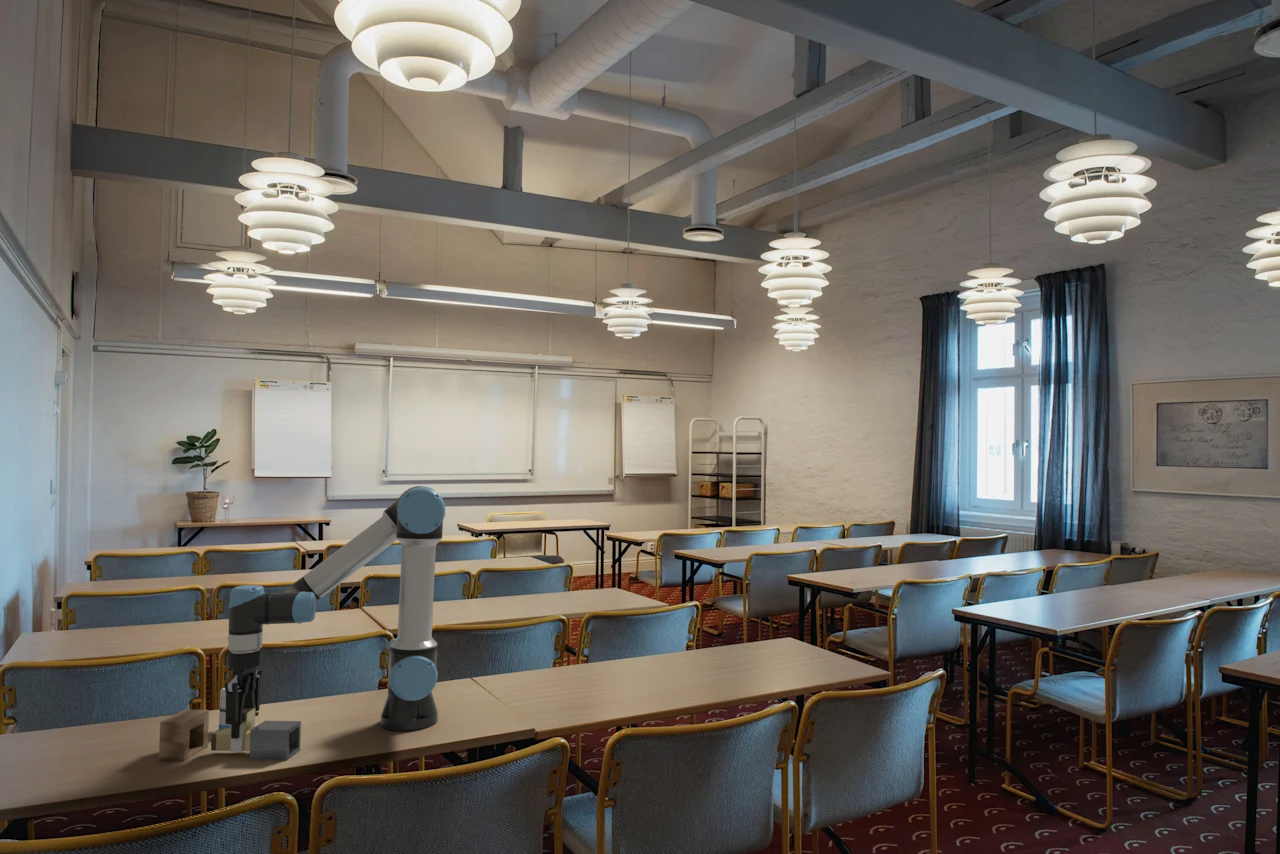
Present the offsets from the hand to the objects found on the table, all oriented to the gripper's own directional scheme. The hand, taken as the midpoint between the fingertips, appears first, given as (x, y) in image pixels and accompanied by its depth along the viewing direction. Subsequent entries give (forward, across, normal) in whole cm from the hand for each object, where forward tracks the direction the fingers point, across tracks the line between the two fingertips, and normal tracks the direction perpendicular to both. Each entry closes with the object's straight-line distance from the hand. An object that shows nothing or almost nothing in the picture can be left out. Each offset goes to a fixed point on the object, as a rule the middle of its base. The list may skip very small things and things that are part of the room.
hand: (241, 747), depth 193 cm
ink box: (+2, -17, -10) cm, 20 cm away
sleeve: (+2, 0, +8) cm, 8 cm away
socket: (+2, 0, -14) cm, 14 cm away
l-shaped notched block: (0, 0, +2) cm, 2 cm away
